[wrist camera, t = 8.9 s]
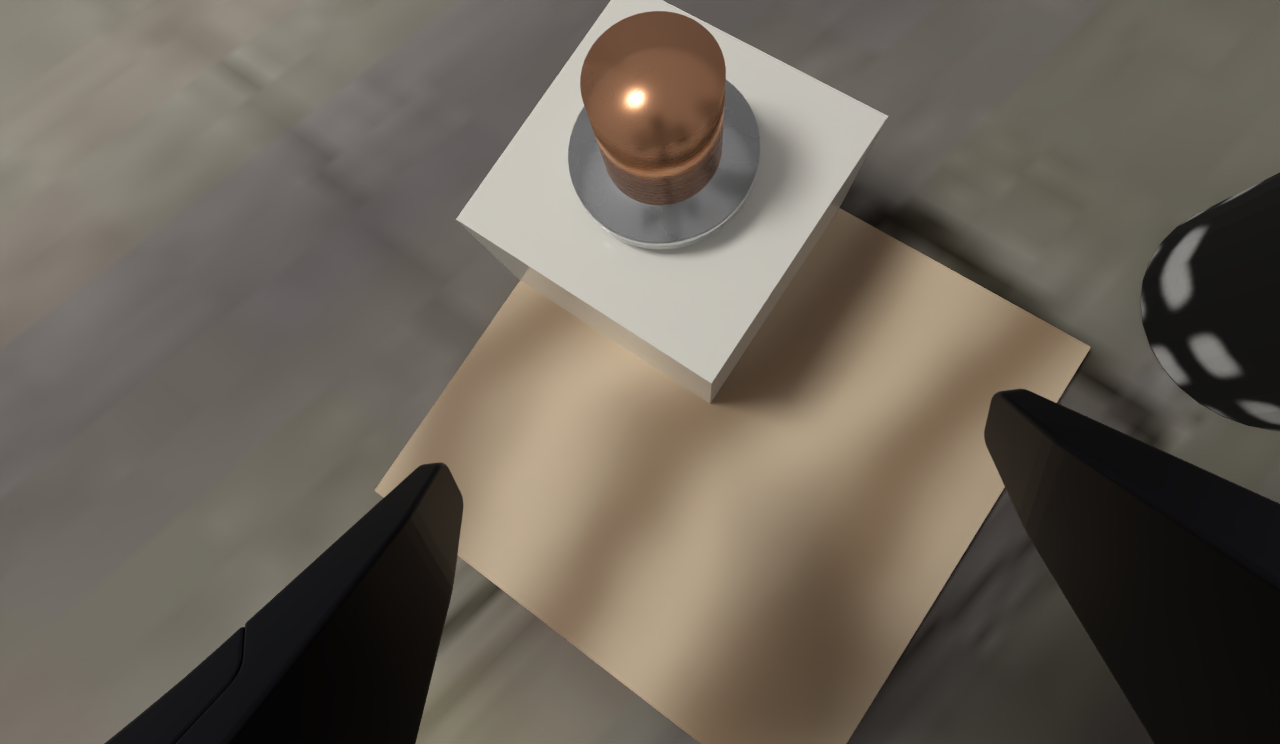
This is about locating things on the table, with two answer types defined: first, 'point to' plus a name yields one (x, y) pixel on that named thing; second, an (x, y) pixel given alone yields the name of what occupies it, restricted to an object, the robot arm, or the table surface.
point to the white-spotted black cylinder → (1222, 306)
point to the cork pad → (744, 484)
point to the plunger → (661, 134)
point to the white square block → (691, 275)
